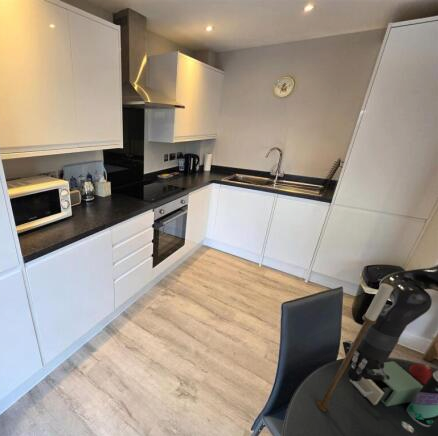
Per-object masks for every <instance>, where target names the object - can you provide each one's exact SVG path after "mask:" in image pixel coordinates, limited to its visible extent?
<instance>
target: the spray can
mask: <svg viewBox="0 0 438 436" xmlns="http://www.w3.org/2000/svg"><path fill="white" fill-rule="evenodd" d="M422 386H423V388H422V389H421V390H420V391H419V393H418V394H417V395H416V397H415V398H414V399H413V401H412V402H409V404H408V406H407V407H406V413H407V415H408V416H409V417H410V418H411V419H412V420H413V421H414V422H415V423H417V424H419V425H421V426H423V427H426V428H429V427H432V425H433V424H435V422H436V421H437V419H438V369H437V370H435V371H434V372H433V374H432V376H431V377H430V378H429V380H428V381H427V382H426V384H423V385H422Z"/></svg>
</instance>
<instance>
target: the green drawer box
mask: <svg viewBox="0 0 438 436" xmlns="http://www.w3.org/2000/svg"><path fill="white" fill-rule="evenodd" d="M370 370H372V371H373V372H374V373H375V372H377V369H370ZM383 371H384V373H385V374H386V375H388V376H389V378H390V379H389V380H383V381H384V382H385V383H386V384H387V385H388V386H389V387H390V388H391V389H392V390H393V392H392V394H391V395H390V397H389V398H388V399H387V400H383V401H381V403H382V404H383V405H384V406H385V407H391V406H397V405H400V404H406V403H411V402H412V401H413V399H414V398H415V397H416V395H417V394H418V393H419V391H420V390H421V389H422V388H423V386H424V385H423V384H422V383H419V382H418V381H417V380H415V379H414V378H413V377H412V376H411V375H410V373H409V372H407V371H406V370H405V369H403V367H402V366H400V365H399V364H398V363H397V362H396V361H394V360H392V361H385V362H384V368H383Z"/></svg>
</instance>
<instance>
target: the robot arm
mask: <svg viewBox="0 0 438 436" xmlns="http://www.w3.org/2000/svg"><path fill="white" fill-rule="evenodd" d="M382 283H385V284H388V285H390V286H392V287H393V288H394V289H393V291H392V292H391V294H390V296H389V298H388V299H389V301H391V302H392V305H390V304H387V303H385V305H384V307H383V308H382V310H381V312H380V314H379V316H378V317H377V319H376V320H377V321H376V323H375V324H374V325H373V324H370V326H369V328H368V330H367V331H366V333H365V335H364V337H363V339H362V340H361V342H360V344H359V346H358V348H357V350H356V351H355V353H354V355H353V357H352V359H351V360H350V362H349V364H350V369H348V372H347V374H348V378H349V380H350V379H351V380H352V381H355V382H356V381H361V379H362V377H363V378H364V379H370V380H380V381H383V380H389V379H390V378H389V376H388V375H386V374H385V373H384V371H383V368H384V363H385V362H387V360H388V359H389V357H390V355H391V354H392V352H393V351H394V350H395V348H396V346H397V344H398V343H399V340H400V338H401V336H402V335H403V333H404V331H405V330H406V328H407V326H408V325H410V324H411V323H413V322H415V321H417V320H418V319H419V318H420V317H422V316H424V315H425V314H426V313H427V312H429V310H431V307H432V305H433V304H432V303H433V299H432V296H431V294H429V292H427V290H433V291H436V292H438V264H436V265H433V266H431V267H425V268H423V267H422V268H416V269H409V270H402V271H401V270H400V271H396V272H393V273H390V274H387V275H386V276H384V277H383V278H382V279H381V280H380V282H379V287H380V286H381V284H382ZM353 342H354V341H351V340H347V341H342V346H343V351H344V356H345V357H346V355H347V353H348V351H349V349H350V348H351V346H352V344H353ZM370 369H377V372H375V374H372V373H368V371H369V370H370Z"/></svg>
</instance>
